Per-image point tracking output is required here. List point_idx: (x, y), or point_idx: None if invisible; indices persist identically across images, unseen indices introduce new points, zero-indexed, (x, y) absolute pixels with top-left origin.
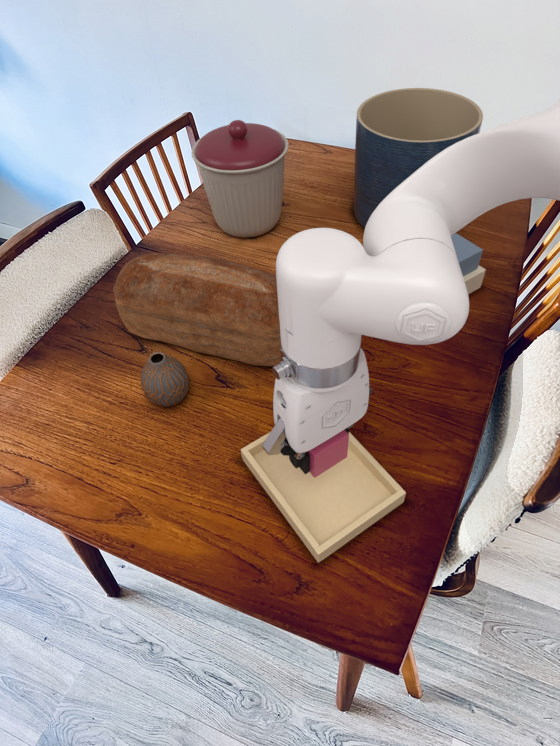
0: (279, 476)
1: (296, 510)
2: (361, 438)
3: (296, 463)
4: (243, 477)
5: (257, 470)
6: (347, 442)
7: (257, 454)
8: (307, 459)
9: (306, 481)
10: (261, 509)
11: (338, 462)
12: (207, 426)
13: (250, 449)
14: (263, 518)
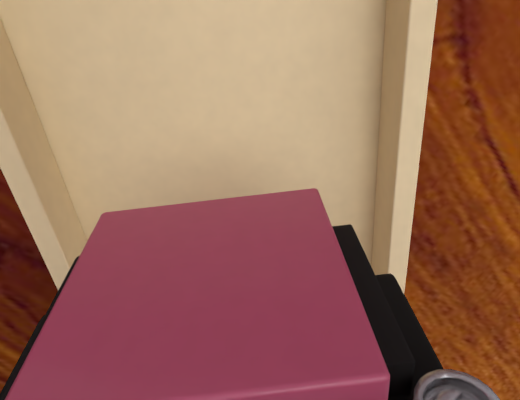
0: None
1: (357, 108)
2: (25, 230)
3: (410, 311)
4: (409, 265)
5: (402, 280)
6: (50, 328)
7: None
8: (382, 331)
9: (270, 182)
10: (433, 164)
11: (159, 207)
12: None
13: None
14: (448, 136)
